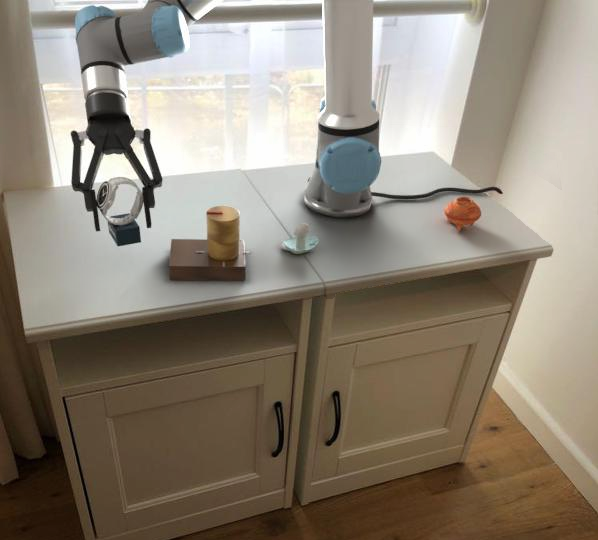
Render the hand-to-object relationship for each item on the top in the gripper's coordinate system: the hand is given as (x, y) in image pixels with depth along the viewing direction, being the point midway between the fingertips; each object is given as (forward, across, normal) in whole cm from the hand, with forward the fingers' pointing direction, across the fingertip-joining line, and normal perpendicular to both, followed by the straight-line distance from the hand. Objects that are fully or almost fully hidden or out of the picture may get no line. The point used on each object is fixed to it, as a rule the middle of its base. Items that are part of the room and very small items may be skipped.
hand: (123, 227), depth 116 cm
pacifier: (+4, -34, -10) cm, 35 cm away
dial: (+5, -18, -5) cm, 19 cm away
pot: (+1, -72, -13) cm, 73 cm away
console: (+6, -15, -7) cm, 18 cm away
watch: (0, 0, -5) cm, 5 cm away
